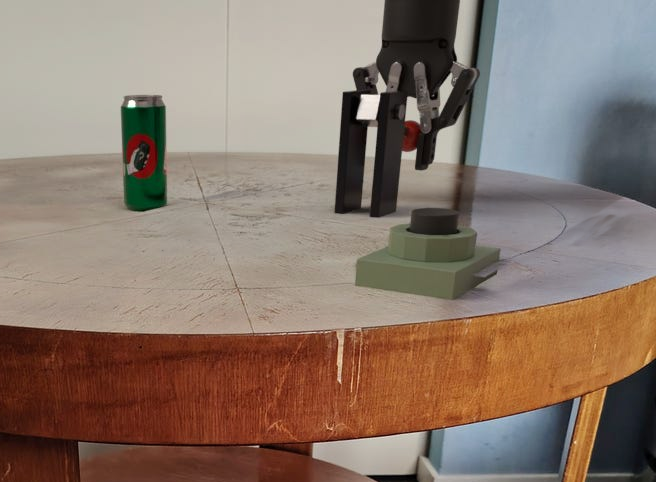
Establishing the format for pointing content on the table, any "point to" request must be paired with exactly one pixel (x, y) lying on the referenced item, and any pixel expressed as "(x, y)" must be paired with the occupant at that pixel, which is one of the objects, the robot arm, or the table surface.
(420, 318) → the table surface
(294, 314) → the table surface
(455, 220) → the button
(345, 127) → the bracket
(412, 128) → the lever
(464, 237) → the control block
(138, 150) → the soda can
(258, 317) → the table surface
